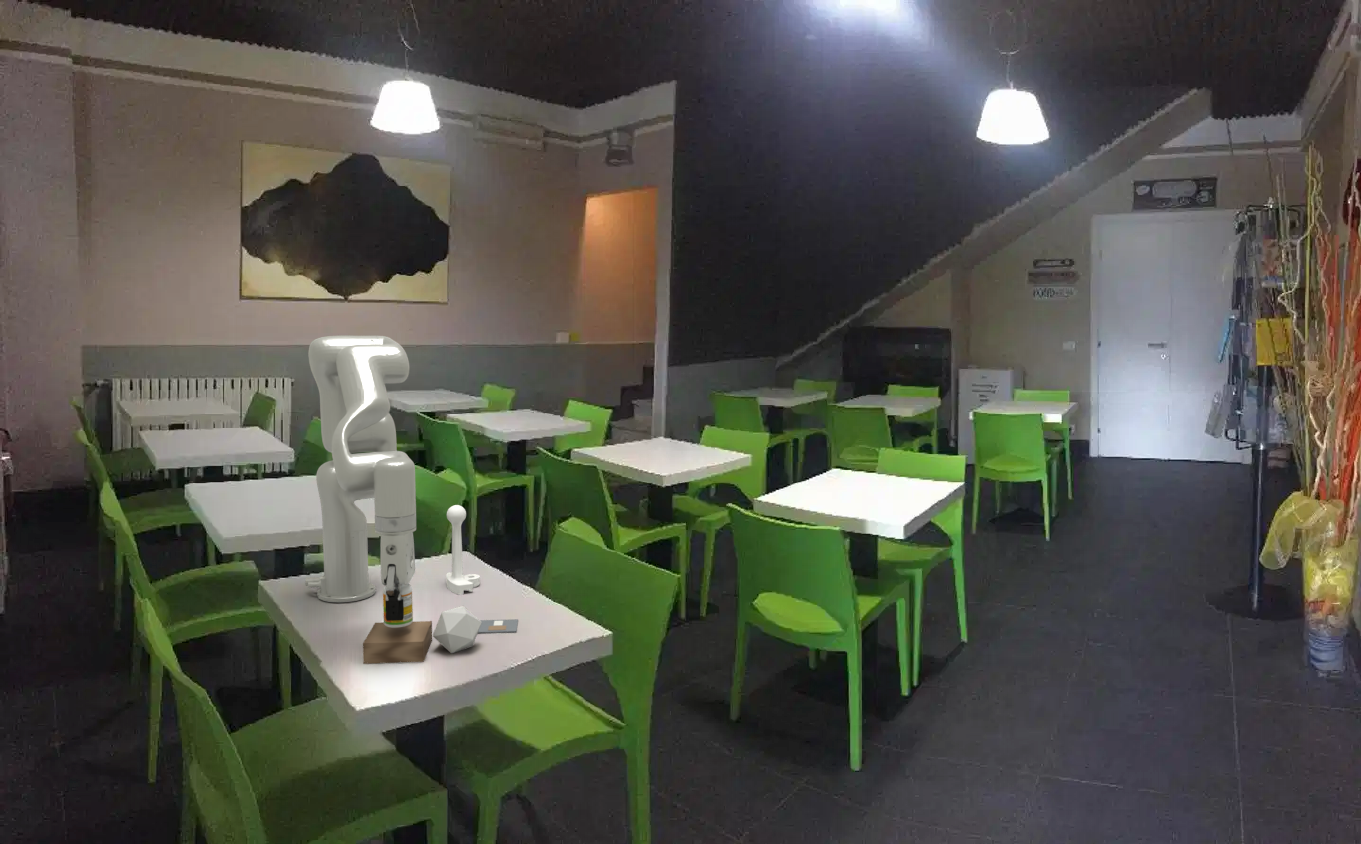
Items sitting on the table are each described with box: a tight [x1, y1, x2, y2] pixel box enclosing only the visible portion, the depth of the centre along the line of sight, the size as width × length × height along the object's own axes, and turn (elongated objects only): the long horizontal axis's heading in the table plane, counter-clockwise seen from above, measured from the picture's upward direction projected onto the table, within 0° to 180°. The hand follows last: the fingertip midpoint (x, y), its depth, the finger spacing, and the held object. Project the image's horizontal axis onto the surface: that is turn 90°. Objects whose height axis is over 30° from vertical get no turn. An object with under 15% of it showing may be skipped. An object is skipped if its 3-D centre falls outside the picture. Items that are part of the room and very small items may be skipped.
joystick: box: [445, 504, 481, 596], centre depth 214 cm, size 11×8×20 cm
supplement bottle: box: [382, 581, 414, 628], centre depth 173 cm, size 5×5×10 cm
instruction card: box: [477, 618, 519, 635], centre depth 189 cm, size 8×7×1 cm
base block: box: [362, 620, 433, 665], centre depth 174 cm, size 11×11×4 cm
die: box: [432, 605, 482, 654], centre depth 177 cm, size 8×9×10 cm
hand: (397, 613), depth 174 cm, fingers closed on supplement bottle, 5 cm apart
